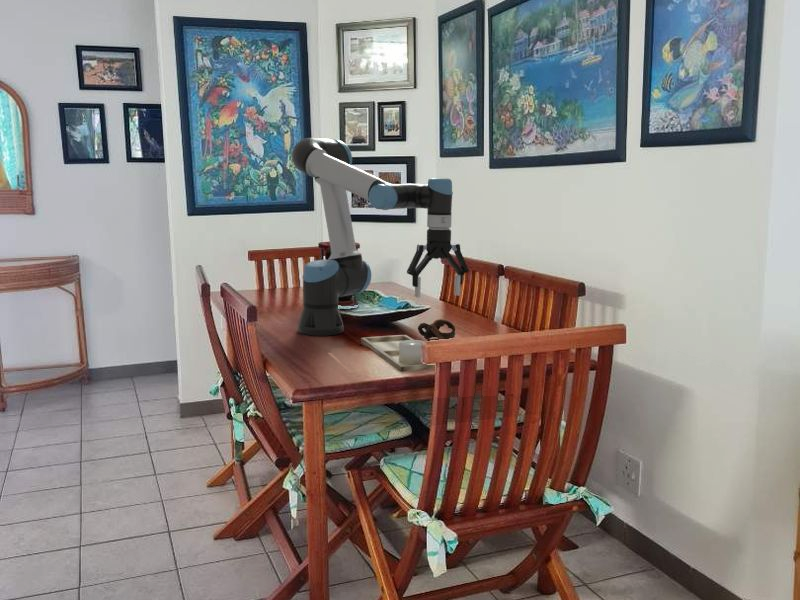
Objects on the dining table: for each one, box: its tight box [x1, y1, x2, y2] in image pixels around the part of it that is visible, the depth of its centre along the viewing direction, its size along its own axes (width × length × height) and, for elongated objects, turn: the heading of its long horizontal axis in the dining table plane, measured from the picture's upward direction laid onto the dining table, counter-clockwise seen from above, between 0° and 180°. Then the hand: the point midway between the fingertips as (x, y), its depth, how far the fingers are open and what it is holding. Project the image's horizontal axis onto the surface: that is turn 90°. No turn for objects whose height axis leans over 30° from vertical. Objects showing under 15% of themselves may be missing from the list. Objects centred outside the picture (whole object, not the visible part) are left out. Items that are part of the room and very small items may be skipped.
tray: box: [360, 334, 435, 372], centre depth 216 cm, size 15×35×2 cm, turn 21°
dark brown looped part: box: [417, 318, 456, 340], centre depth 233 cm, size 12×10×8 cm
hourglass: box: [317, 241, 361, 306], centre depth 286 cm, size 16×16×25 cm
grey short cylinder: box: [399, 339, 425, 365], centre depth 207 cm, size 9×9×5 cm
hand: (437, 296), depth 231 cm, fingers open, 13 cm apart
